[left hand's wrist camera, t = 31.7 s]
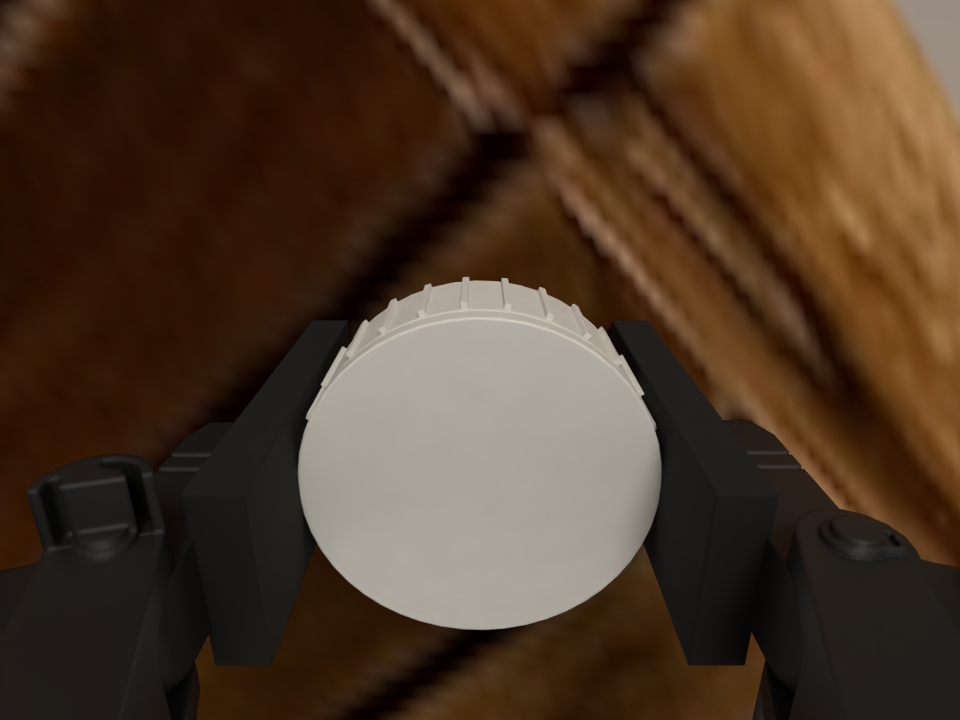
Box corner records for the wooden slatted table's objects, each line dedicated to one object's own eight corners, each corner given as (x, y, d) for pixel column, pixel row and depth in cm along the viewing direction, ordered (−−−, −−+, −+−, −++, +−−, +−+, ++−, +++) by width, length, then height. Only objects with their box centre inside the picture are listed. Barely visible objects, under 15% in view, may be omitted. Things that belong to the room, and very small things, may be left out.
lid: (264, 353, 11) (219, 405, 9) (570, 219, 11) (591, 246, 9) (408, 591, 13) (396, 674, 11) (676, 495, 12) (712, 567, 11)
